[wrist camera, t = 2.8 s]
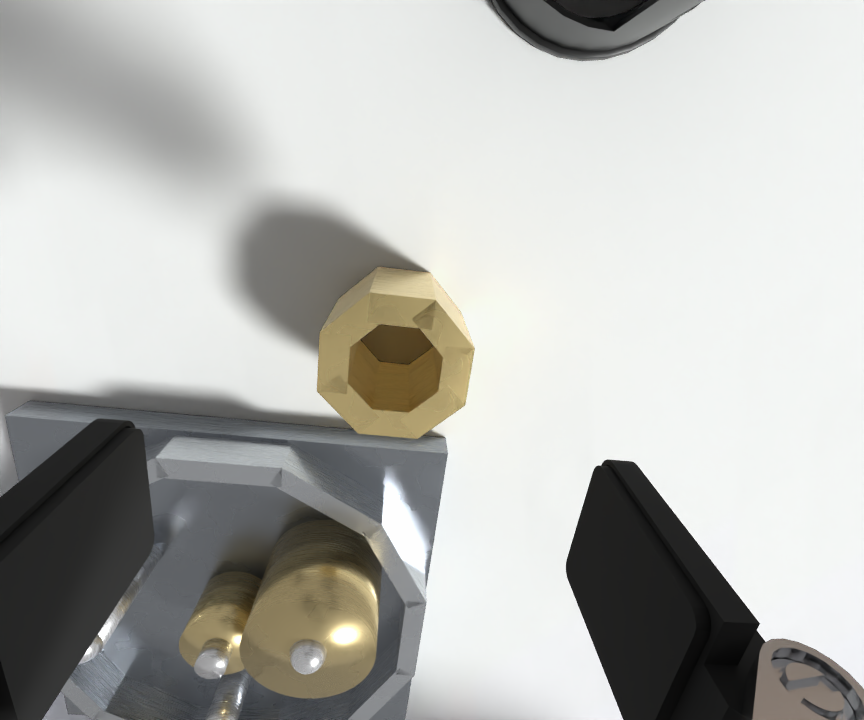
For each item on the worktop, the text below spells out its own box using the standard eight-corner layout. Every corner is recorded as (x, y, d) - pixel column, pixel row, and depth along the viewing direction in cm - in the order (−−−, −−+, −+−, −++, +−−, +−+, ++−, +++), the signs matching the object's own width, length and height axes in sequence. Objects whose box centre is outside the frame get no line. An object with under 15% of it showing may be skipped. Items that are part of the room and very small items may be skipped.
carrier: (445, 437, 25) (459, 538, 18) (404, 701, 32) (402, 845, 25) (29, 400, 23) (-131, 496, 16) (84, 688, 30) (-12, 839, 23)
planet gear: (466, 276, 22) (482, 305, 17) (448, 389, 24) (458, 442, 19) (340, 261, 21) (321, 286, 16) (334, 378, 23) (315, 429, 18)
